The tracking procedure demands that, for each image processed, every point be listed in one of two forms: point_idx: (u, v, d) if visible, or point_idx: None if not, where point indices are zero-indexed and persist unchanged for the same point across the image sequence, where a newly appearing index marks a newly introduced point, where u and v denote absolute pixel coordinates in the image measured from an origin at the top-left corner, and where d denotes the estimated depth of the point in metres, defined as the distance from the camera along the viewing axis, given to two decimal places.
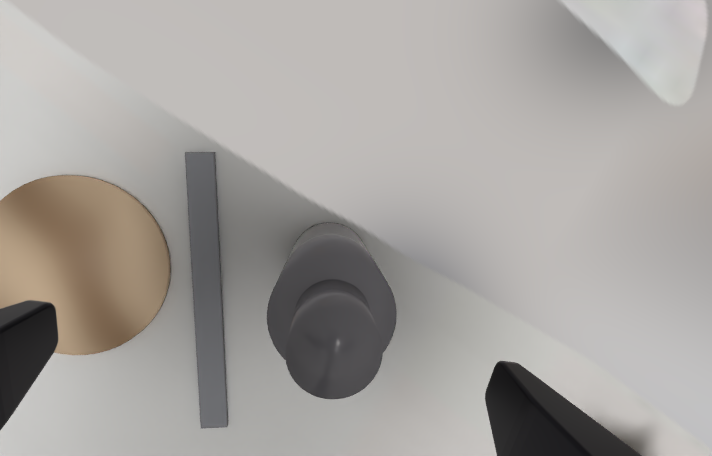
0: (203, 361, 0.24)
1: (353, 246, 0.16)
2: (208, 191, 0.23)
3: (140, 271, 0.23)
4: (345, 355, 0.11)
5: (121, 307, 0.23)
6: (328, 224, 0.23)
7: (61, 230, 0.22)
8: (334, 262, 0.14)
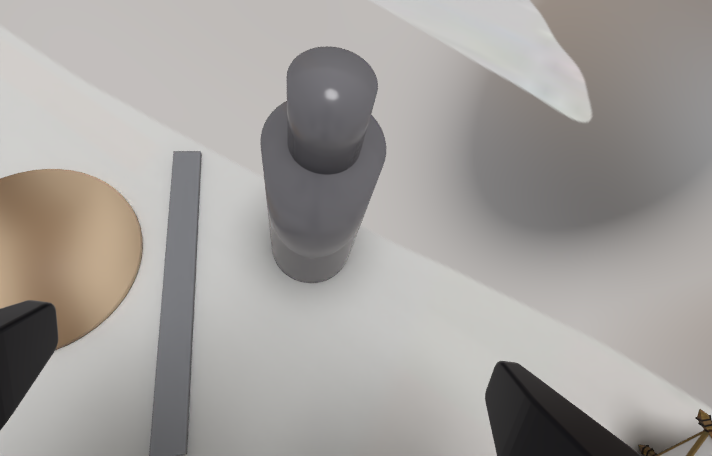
0: (164, 360, 0.20)
1: None
2: (191, 182, 0.24)
3: (108, 257, 0.21)
4: (343, 82, 0.12)
5: (77, 296, 0.20)
6: None
7: (30, 218, 0.21)
8: None
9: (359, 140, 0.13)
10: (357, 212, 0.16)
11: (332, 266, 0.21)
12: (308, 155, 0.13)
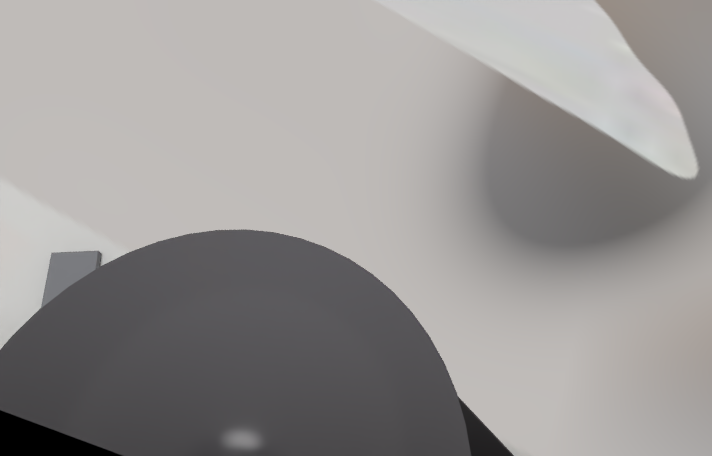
0: None
1: None
2: None
3: None
4: None
5: None
6: None
7: None
8: None
9: None
10: None
11: None
12: None
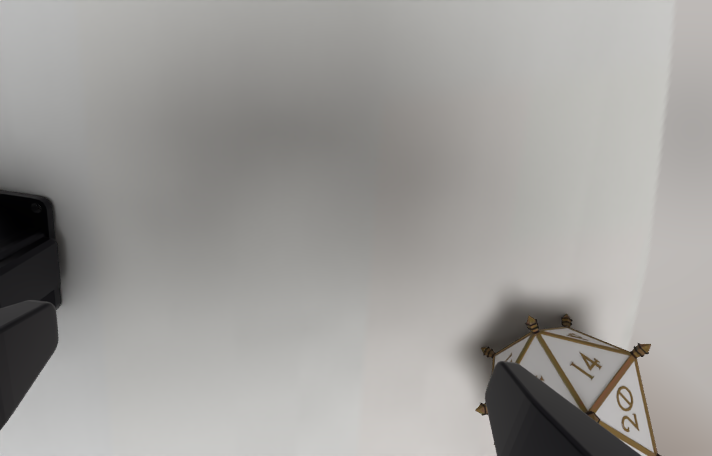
0: None
1: None
2: None
3: None
4: None
5: None
6: None
7: None
8: None
9: None
10: None
11: None
12: None
